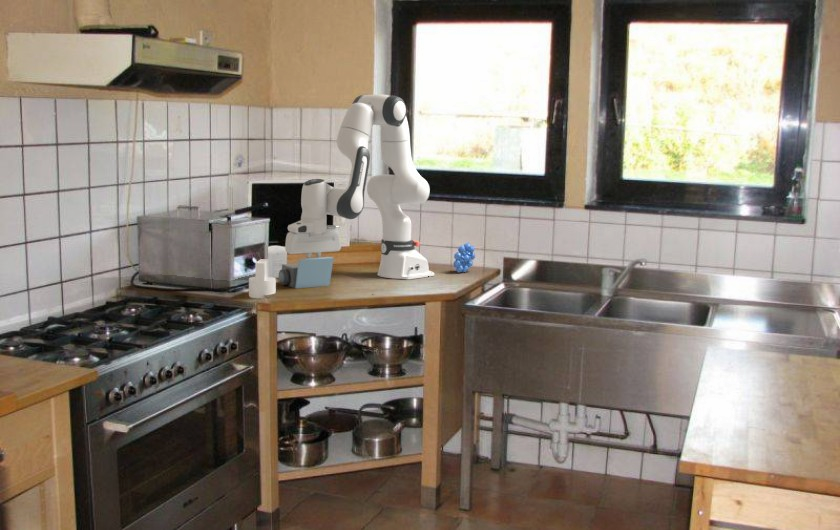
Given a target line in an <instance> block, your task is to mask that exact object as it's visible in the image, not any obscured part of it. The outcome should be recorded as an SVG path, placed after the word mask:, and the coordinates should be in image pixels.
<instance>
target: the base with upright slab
mask: <svg viewBox="0 0 840 530" xmlns="http://www.w3.org/2000/svg"><path fill="white" fill-rule="evenodd" d="M276 282H277V278H274V277H269V259H261V258H260V259H259V260H257V261H256V262H255V276H251V277H249V278H248V297H249V298H252V299H259V298H266V299H270V297H269V296H268V295H270V296H271V295H274V294H276V292H277V291H276V290H277V286H276V285H277V283H276Z"/></svg>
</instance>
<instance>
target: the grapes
mask: <svg viewBox="0 0 840 530" xmlns="http://www.w3.org/2000/svg"><path fill="white" fill-rule="evenodd" d="M457 250H458V251H457V252H455V253H454V255H453V257H454V261H453V267H454V268H455V270H456V272H457V273H463V272H465V273H467V272H468V271H469V268H472V267H473V266H474V262H473V260H474V259H476V254H475V247H474V245H471V244H470V243H469V242H466V243H465V244H463V245H462V244H461V245H459V247H458V248H457Z"/></svg>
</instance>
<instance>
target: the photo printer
mask: <svg viewBox="0 0 840 530" xmlns="http://www.w3.org/2000/svg"><path fill="white" fill-rule="evenodd" d="M267 247H268V259H269V277H274V278H276V279H279V272H280V270H281V269H282V264H288V253H287V252H286V250H285V247H284V246H281V245H269V246H267Z"/></svg>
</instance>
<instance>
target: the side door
mask: <svg viewBox="0 0 840 530" xmlns="http://www.w3.org/2000/svg"><path fill="white" fill-rule="evenodd" d="M297 263H298V270H297V277H296V285H295V287H294V288H295V289H305V288H318V287H326V286H327V287H328V286H330V285H331V278H332V271H333V264H334V256H324V257H323V256H321V257H320V258H315V257H311V258H307V257H306V258H299V259H298V262H297Z"/></svg>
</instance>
